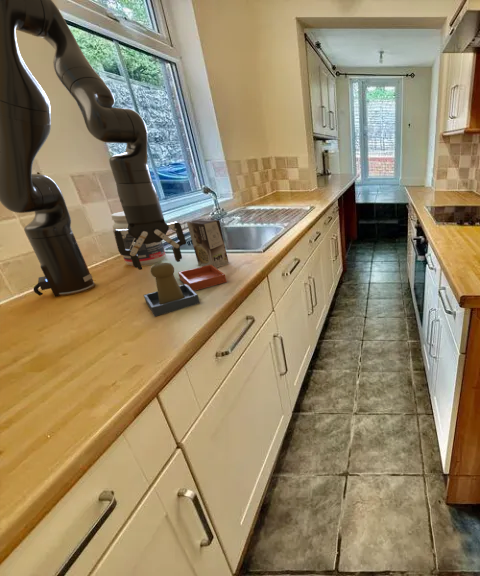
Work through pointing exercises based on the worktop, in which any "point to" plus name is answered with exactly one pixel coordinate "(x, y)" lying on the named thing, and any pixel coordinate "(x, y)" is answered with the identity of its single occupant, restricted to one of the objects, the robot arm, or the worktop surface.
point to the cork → (166, 283)
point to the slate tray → (158, 309)
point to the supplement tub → (147, 251)
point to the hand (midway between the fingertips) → (159, 264)
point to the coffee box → (208, 242)
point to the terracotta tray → (202, 277)
